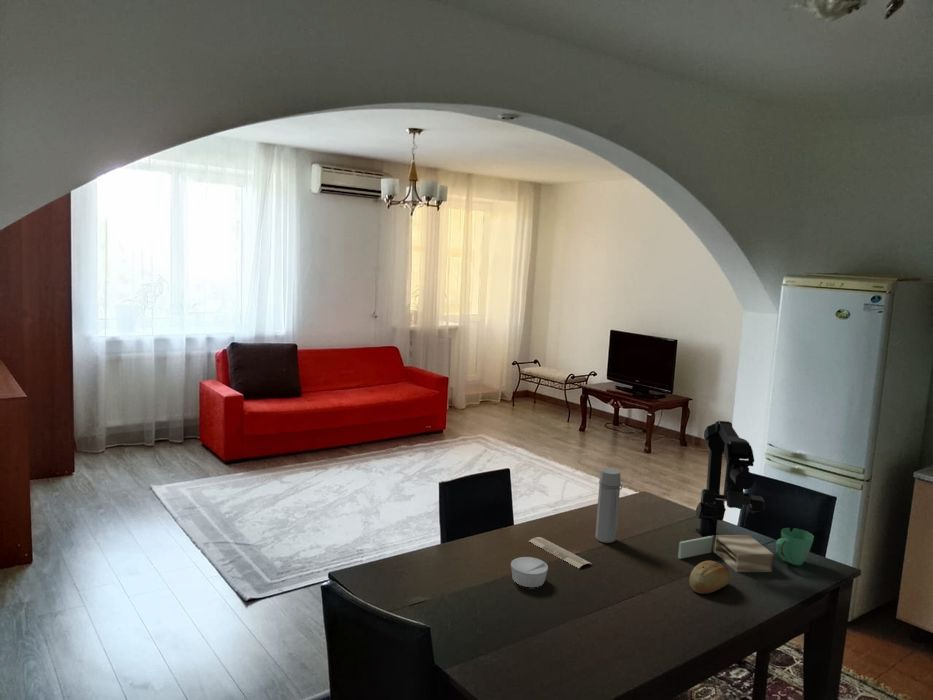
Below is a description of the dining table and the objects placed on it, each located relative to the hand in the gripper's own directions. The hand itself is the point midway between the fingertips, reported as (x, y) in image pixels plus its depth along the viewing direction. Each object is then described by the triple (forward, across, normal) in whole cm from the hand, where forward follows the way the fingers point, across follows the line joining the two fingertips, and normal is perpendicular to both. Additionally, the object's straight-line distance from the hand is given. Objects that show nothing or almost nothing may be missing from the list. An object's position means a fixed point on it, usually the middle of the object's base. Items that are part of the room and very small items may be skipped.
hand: (729, 524), depth 217 cm
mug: (+14, +21, +8) cm, 26 cm away
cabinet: (+13, +6, +3) cm, 15 cm away
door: (+13, -9, +2) cm, 16 cm away
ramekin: (+13, -60, -36) cm, 71 cm away
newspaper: (+14, -54, -13) cm, 57 cm away
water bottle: (+14, -39, +4) cm, 41 cm away
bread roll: (+13, -7, -20) cm, 25 cm away
